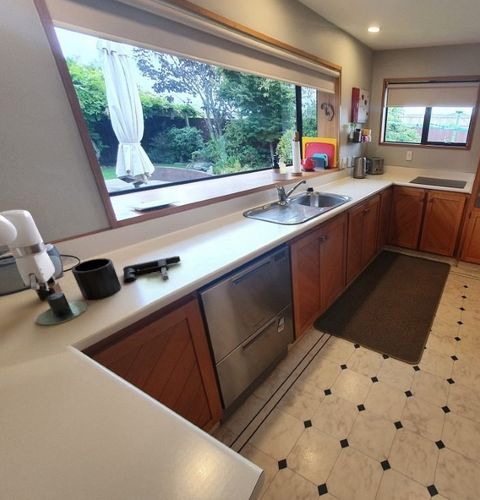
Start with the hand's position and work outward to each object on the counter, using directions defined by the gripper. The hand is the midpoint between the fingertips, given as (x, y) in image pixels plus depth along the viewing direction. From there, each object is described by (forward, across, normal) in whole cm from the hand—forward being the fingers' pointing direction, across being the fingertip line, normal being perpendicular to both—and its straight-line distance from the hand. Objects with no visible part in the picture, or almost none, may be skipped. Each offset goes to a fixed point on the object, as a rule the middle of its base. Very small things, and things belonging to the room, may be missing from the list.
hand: (51, 295), depth 98 cm
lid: (0, +15, +7) cm, 17 cm away
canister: (0, +5, +15) cm, 16 cm away
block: (0, 0, 0) cm, 0 cm away
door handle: (+1, -4, +30) cm, 30 cm away
